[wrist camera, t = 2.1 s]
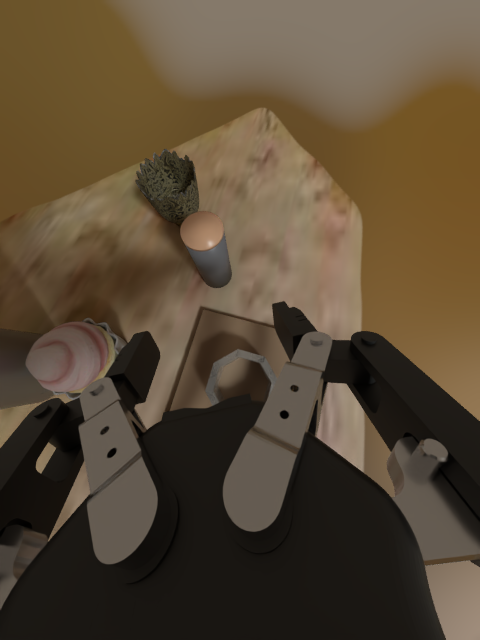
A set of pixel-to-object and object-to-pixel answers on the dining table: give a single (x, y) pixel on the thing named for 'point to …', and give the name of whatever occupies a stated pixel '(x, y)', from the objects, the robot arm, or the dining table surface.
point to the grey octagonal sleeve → (218, 366)
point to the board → (237, 377)
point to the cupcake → (73, 356)
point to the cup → (170, 186)
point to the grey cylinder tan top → (207, 247)
